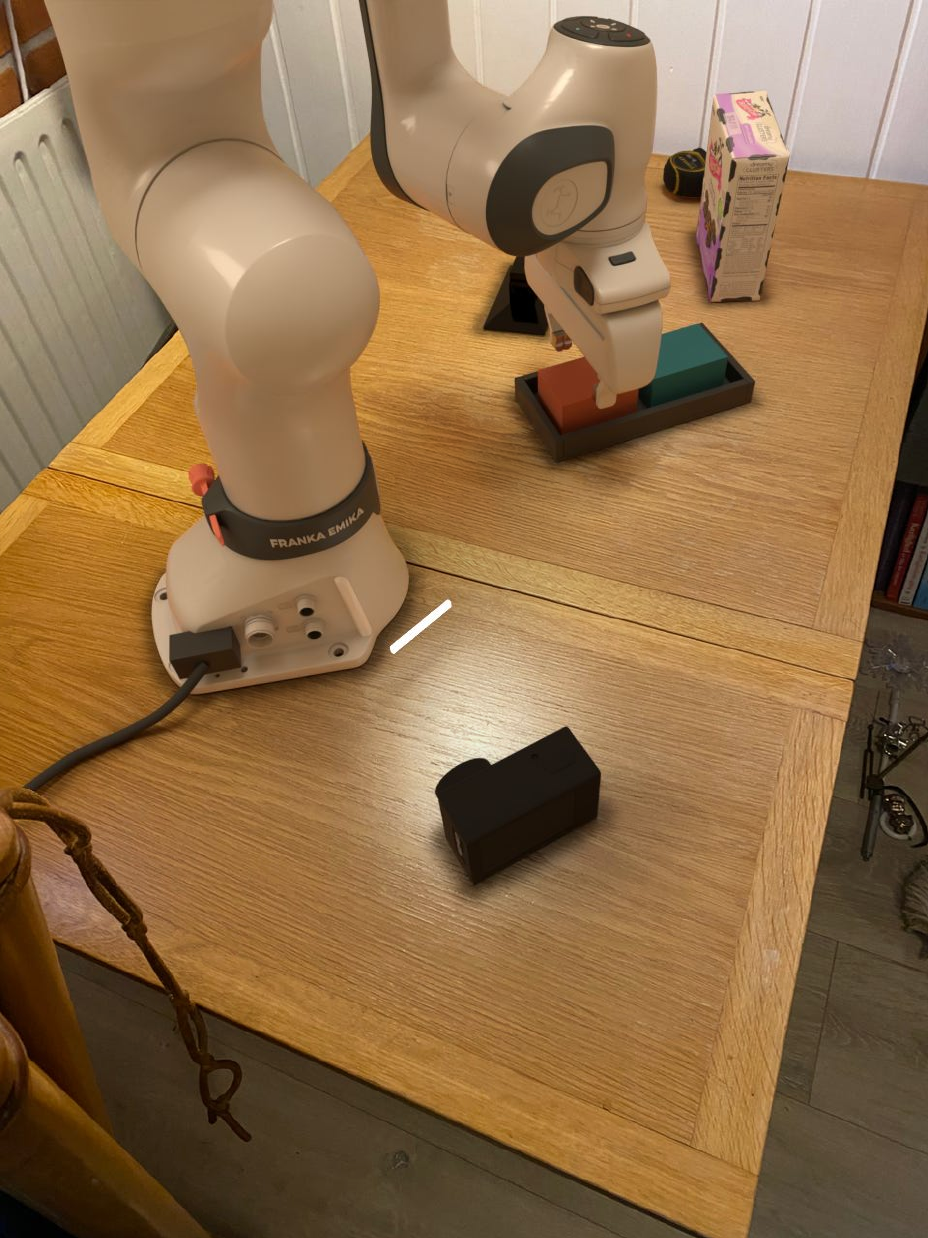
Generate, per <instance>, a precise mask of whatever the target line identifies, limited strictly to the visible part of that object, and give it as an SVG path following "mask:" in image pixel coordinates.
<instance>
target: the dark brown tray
mask: <svg viewBox="0 0 928 1238" xmlns="http://www.w3.org/2000/svg"><path fill="white" fill-rule="evenodd" d="M698 324H699V325H700V326H701V327H702V328H703V329H704V330H705V332H706V333H707V334H708V335H709V336H710V337H711V338H712V339H713V340H714V342H715V343H716V344H717V345H718V346H719V347H720V348H721V349H722V350H723V352H724V353H725V354H726V355H727V356H728V360H727V366H726V371H725V377H724V383H723V386H719V387H716V388H713V389H710V390H706V391H703V392H700V393H697V394H693V395H690V396H687V397H684V398H680V399H677V400H674V401H671V402H667V403H664V404H661V405H658V406H654V407H651V408H647V407H646V406H645V404H644V403H643V402H642V400H641V399H640V398H639V396H638V401H637V412H635V413H632V414H628V415H625V416H622V417H619V418H615V419H612V420H609V421H606V422H602V423H599V424H596V425H593V426H589V427H586V428H583V429H579V430H576V431H573V432H570V433H566V434H563V435H561V436H560V434H559V433H558V431H557V430H556V428H555V427H554V425H553V424H552V422H551V421H550V419H549V417H548V416H547V414H546V413H545V411H544V410H543V408H542V407H541V405H540V404H539V402H538V370H536V371H533V372H529V373H527V374H522V375H520V376H517V377H514V380H513V381H514V399H515V401H516V402H517V403H518V405H519V407H520V408H521V410H522V412H523V413H524V415H525V417H526V418H527V419H528V421H529V423H530V424H531V426H532V427H533V428H534V430H535V432H536V433H537V435H538V437H539V438H540V440H541V441H542V444H544V446H545V448H546V449H547V451H548V452H549V454H550V456H551V457H552V459H553V461H554V462H555V463H556V464H557V463H559V462H560V463H561V462H563V461H566V460H570V459H573V458H576V457H579V456H583V455H586V454H589V453H592V452H595V451H599V450H602V449H605V448H608V447H611V446H614V445H615V446H616V445H618V444H621V443H625V442H628V441H631V440H635V439H637V438H641V437H644V436H647V435H649V434H653V433H656V432H659V431H662V430H666V429H669V428H672V427H675V426H680V425H682V424H685V423H688V422H689V423H690V422H691V421H695V420H698V419H701V418H705V417H708V416H710V415H714V414H717V413H720V412H725V411H726V410H730V409H733V408H737V407H740V406H742V405H746V404H749V403H751V402H752V401H753V395H754V389H755V385H756V380H755V379H754V378H753V377H752V376H751V375H750V374H749V372H748V371H747V370H746V369H745V368H744V367H743V366H742V365H741V363H740V362H739V361H738V360H737V359H736V358H735V356H734V355H733V354H731V353H730V351H729V350H728V349H727V348H726V346H724V344H722V342H721V341H720V340H719V339H718V338H717V337H716V336H715V335H714V333H713V332H711V330H710V329H709V328H708V327H707V326H706V325H705V324H704V322H700V323H699V322H698Z"/></svg>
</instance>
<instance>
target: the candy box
mask: <svg viewBox="0 0 928 1238" xmlns="http://www.w3.org/2000/svg"><path fill="white" fill-rule="evenodd" d="M706 152H707V153H706V161H705V170H704V178H703V185H702V193H701V197H700V203H699V210H698V217H697V225H696V232H695V239H696V245H697V248H698V253H699V257H700V261H701V262H700V263H701V267H702V270H703V275H704V280H705V284H706V288H707V294H708V298H709V302H710V303H715V302H716V303H721V302H723V303H724V302H727V303H728V302H759V301H761V297H762V293H763V288H764V282H765V278H766V273H767V268H768V263H769V258H770V254H771V249H772V243H773V240H774V234H775V230H776V229H775V228H776V223H777V220H778V214H779V210H780V205H781V200H782V196H783V192H784V187H785V181H786V178H787V173H788V167H789V162H790V156H791V153H790V151H789V149H788V148H787V145H786V143H785V140H784V137H783V135H782V132H781V129H780V125H779V123H778V120H777V117H776V115H775V111H774V108H773V106H772V104H771V102H770V99H769V95H768V91H767V89H766V90H765V89H764V90H755V91H739V92H727V93H725V92H723V93H715V94H713V96H712V104H711V113H710V121H709V129H708V136H707V146H706Z"/></svg>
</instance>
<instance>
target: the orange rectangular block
mask: <svg viewBox="0 0 928 1238" xmlns="http://www.w3.org/2000/svg"><path fill="white" fill-rule="evenodd" d="M537 371H538V402H539V404H540V405H541V407H542V408H543V410H544V411H545V413H546V414H547V416H548V417H549V419H550V421H551V422H552V424H553V425H554V427H555V428H556V430H557V431H558V433H559V434H560V436H561V435H563V434H566V433H570V432H573V431H576V430H579V429H583V428H586V427H589V426H593V425H596V424H599V423H602V422H606V421H609V420H612V419H615V418H619V417H622V416H625V415H628V414H632V413H635V412H637V401H638V389H635V390H632V391H628V392H624V393H621V394H617V395H616V402H615V404H614V405H613V406H610V407H607V408H603V409H600V408H598V406H597V405H596V403H595V402H594V401H593V399H592V385H595V384H598V383H600V380H599V378H598V374H597V372H596V371H595V370H594V369H593V367H592V366H591V365H590V363H589V362H588V361H587V360H586V358H585V357H584V356H581V357H577V358H574V359H571V360H567V361H564V362H561V363H558V364H557V363H556V364H554V365H551V366H548V367H547V366H546V367H544V368H541V369H538V370H537Z"/></svg>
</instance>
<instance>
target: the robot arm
mask: <svg viewBox="0 0 928 1238" xmlns="http://www.w3.org/2000/svg"><path fill="white" fill-rule="evenodd" d="M448 1H449V0H358V6H359V11H360V17H361V23H362V28H363V34H364V40H365V47H366V52H367V57H368V64H369V71H370V72H369V73H370V82H371V83H370V84H371V106H370V126H369V127H370V130H369V138H370V139H369V140H370V141H369V143H370V153H371V159H372V164H373V166H374V170H375V172H376V174H377V176H378V178H379V180H380V181H381V184H382V185H383V186H384V187H385V189H386V190H387V191H388V192H389V193H390V194H391V195H393V197H395V198H397V199H398V200H400V201H403V202H405V203H408V204H411V205H413V206H415V207H417V208H419V209H422V210H424V211H426V212H430V213H432V214H433V215H435V216H437V217H439V218H441V219H442V220H443V221H446V222H447V223H449V224H450V225H452V226H454V227H455V228H457V229H459V230H461V231H462V232H463V233H466V234H468V235H471V236H473V237H474V238H476V239H478V240H480V241H481V242H483V243H485V244H486V245H488V246H490V247H492V248H494V249H496V250H497V251H500V252H502V253H504V254H506V255H509V256H512V257H515V258H516V257H525V266H524V267H525V274H526V279H527V282H528V284H529V286H530V287H531V288H532V290H533V291H534V292H535V293H536V295H537V296H538V297H539V299H540V300H541V301H542V302H543V304H544V309H545V313H546V317H547V321H548V325H549V327H548V329H549V343H550V345H551V346H552V347H553V348H554V350H555V351H556V352H558V353H561V352H563V351H568V350H570V349H571V348H572V347H573V344H574V346H575V347H576V348H577V349H578V351H579V352H580V353H581V354H582V357H585V358H586V360H587V361H588V362H589V363H590V365H591V366H592V367H593V369H594V370H595V371H596V372H597V374H598V378H599V380H600V383H598V384H595V385H592V399H593V401H594V402H595V403H596V405H597V406H598V408H600V409H603V408H607V407H610V406H613V405H614V404H615V402H616V395H617V394H621V393H624V392H628V391H632V390H635V389H639V388H642V387H644V386H646V385H648V384H649V383H650V382H651V381H652V380H653V378H654V376H655V373H656V368H657V363H658V357H659V351H660V344H661V336H662V334H663V324H664V323H663V319H664V318H663V309H662V306H661V302H660V300H662V299H664V298H667V297H668V296H669V294H670V292H671V291H670V290H671V285H672V284H671V280H672V278H671V274H670V272H669V270H668V268H667V266H666V264H665V262H664V260H663V258H662V257H661V254H660V252H659V250H658V248H657V245H656V243H655V241H654V238H653V234H652V231H651V226H650V224H649V222H648V221H647V220H646V216H647V215H646V214H647V209H648V208H647V207H648V193H647V188H646V181H645V180H646V172H647V168H648V165H649V164H650V162H651V161H650V160H651V158H652V154H653V150H654V143H655V135H656V133H655V132H656V124H657V123H656V122H657V110H658V66H657V58H656V53H655V48H654V45H653V42H652V40H651V38H649V37H648V35H647V34H646V33H645V32H644V31H642V30H640V29H638V28H636V27H634V26H632V25H629V24H627V23H625V22H621V21H619V20H615V19H612V18H604V17H599V16H596V15H594V16H593V15H578V16H577V15H576V16H570V17H565V18H563V19H562V20H558V21H557V22H555V23H554V24H553V25H552V26H551V27H550V31H549V34H548V37H547V42H546V47H545V50H544V53H543V55H542V57H541V59H540V60H539V62H538V64H537V65H536V66H535V68H534V69H533V71H532V72H531V73H530V74H529V76H528V77H527V78H526V79H525V81H524V82H523V83H522V84H521V85H520V86H519V87H518V88H517V89H516V90H515V91H513V92H512V93H511V94H509V95H508V96H507V95H505V94H503V93H501V92H499V91H497V90H495V89H492V88H490V87H488V86H486V85H483V84H482V83H480V82H479V81H478V80H477V79H476V78H475V77H474V76H472V75H471V74H470V73H469V71H468V70H467V69H466V68H465V67H464V65H462V63H461V62H460V60H459V59H458V57H457V56H456V54H455V51H454V49H453V45H452V37H451V36H452V35H451V25H450V23H451V22H450V14H449V2H448ZM43 2H44V5H45V8H46V11H47V13H48V16H49V20H50V21H51V24H52V27H53V30H54V33H55V36H56V40H57V43H58V46H59V49H60V53H61V57H62V59H63V63H64V66H65V71H66V76H67V80H68V84H69V88H70V92H71V93H70V94H71V98H72V104H73V107H74V112H75V113H74V114H75V116H76V121H77V126H78V129H79V133H80V138H81V141H82V145H83V150H84V153H85V157H86V160H87V165H88V167H89V171H90V177H91V183H92V186H93V190H94V193H95V196H96V199H97V202H98V204H99V209H100V211H101V213H102V216H103V219H104V221H105V224H106V226H107V229H108V230H109V233H110V235H111V236H112V238H113V240H114V241H115V243H116V244H117V245H118V247H119V248H120V249H121V250H122V252H123V253H124V254H125V256H126V257H127V258H128V259H129V260H130V262H131V263H132V264H133V265H134V267H135V268H136V269H137V270H138V271H139V272H140V274H141V275H142V277H143V278H144V279H145V280H146V281H147V283H148V284H149V285H150V287H151V289H152V290H153V291H154V292H155V294H156V295H157V297H158V298H159V299H160V301H161V303H162V304H163V306H164V307H165V309H166V311H167V312H168V314H169V315H170V317H171V318H172V321H173V322H174V323H175V325H176V327H177V329H178V332H179V333H180V335H181V337H182V339H183V341H184V343H185V346H186V349H187V351H188V354H189V357H190V359H191V363H192V367H193V371H194V376H195V382H196V389H195V392H194V397H193V410H194V414H195V416H196V420H197V421H198V425H199V427H200V429H201V433H202V435H203V437H204V441H205V444H206V445H207V448H208V450H209V454H210V456H211V459H212V461H213V464H214V467H215V469H216V473H217V476H216V475H215V471H214V468H213V467H212V466H211V465H208V464H207V463H197V464H194V465H193V466H191V467H190V468H189V471H188V472H187V475H188V480H189V482H190V484H191V491H192V493H193V494H194V495H196V496H198V497H200V498H201V497H202V498H201V507H202V510H203V515H202V516H201V517H199V519H198V520H196V521H195V522H194V523H193V524H192V525H191V526H190V527H188V529H187V530H185V532H183V533H182V534H181V535H180V536H179V537H177V538H176V539H175V541H174V542H173V543H172V545H171V547H170V549H169V551H168V554H167V559H166V565H165V572H164V573H163V574H162V576H161V577H160V579H159V581H158V583H157V585H156V587H155V590H154V593H153V596H152V601H151V624H152V632H153V637H154V641H155V646H156V648H157V652H158V655H159V657H160V659H161V662H162V665H163V667H164V668H165V670H166V672H167V674H168V676H169V677H170V678H171V680H172V681H173V682H174V683H175V684H176V685H177V686H178V687H179V688H178V690H177V691H176V692H174V694H173V695H172V696H171V697H170V698H169V699H168V700H167V701H165V703H163V704H162V705H161V706H159V707H158V708H157V709H155V710H154V711H153V712H151V713H150V714H148V715H146V716H145V717H143V718H141V719H139V720H136V721H135V722H133V723H132V724H130V725H128V726H125V727H124V728H122V729H119V730H117V731H115V732H113V733H111V734H108V735H106V736H103V737H101V738H99V739H96V740H95V741H93V742H91V743H88V744H86V745H84V746H83V745H82V746H81V747H79V748H76V749H74V750H73V751H71V752H69V753H67V754H66V755H65V756H63V757H62V758H60V759H58V760H57V761H56V762H54V763H53V764H52V765H50V766H49V767H48V768H46V769H45V770H43V771H42V772H40V773H39V774H38V775H36V776H35V777H33V778H32V779H31V780H30V781H29V782H27V783H26V784H24V785H23V786H22V787H21V788H25V789H30V790H32V791H34V793H36V792H37V791H38V790H40V789H41V788H43V787H44V786H45V785H46V784H47V783H49V782H50V781H52V780H53V779H55V778H56V777H57V776H58V775H60V774H62V773H63V772H64V771H66V770H67V769H69V767H71V766H73V765H75V764H76V763H77V762H80V761H82V760H84V759H86V758H88V757H90V756H93V755H95V754H97V753H100V752H102V751H103V750H107V749H108V748H110V747H112V746H115V745H117V744H119V743H122V742H124V741H126V740H128V739H130V738H133V737H135V736H136V735H138V734H140V733H142V732H144V731H146V730H147V729H149V728H152V727H153V726H155V725H157V724H158V723H160V722H161V721H163V720H164V719H165V718H167V717H168V716H169V715H170V714H171V713H173V712H174V711H175V710H176V709H177V708H178V707H180V705H181V704H182V703H183V702H184V701H185V700H186V699H187V698H188V697H189V695H202V694H209V693H215V692H219V691H221V692H222V691H226V690H232V689H238V688H244V687H250V686H255V685H261V684H267V683H268V684H269V683H274V682H278V681H279V682H280V681H285V680H291V679H296V678H303V677H308V676H314V675H319V674H321V675H322V674H326V673H332V672H338V671H344V670H350V669H355V668H359V667H361V666H362V665H364V664H365V663H366V662H367V661H368V659H369V658H370V657H371V654H372V652H373V649H374V646H375V644H376V641H377V638H378V636H379V635H380V633H381V632H382V631H383V630H384V629H385V628H386V627H387V626H388V624H389V623H390V622H391V621H392V620H393V619H394V618H395V617H396V616H397V614H398V613H399V611H400V610H401V608H402V606H403V604H404V601H405V600H406V597H407V594H408V590H409V584H410V574H409V567H408V564H407V562H406V561H407V560H406V559H405V557H404V555H403V553H402V552H401V550H400V549H399V548H398V547H397V545H396V544H395V542H394V540H393V539H392V536H391V535H390V533H389V530H388V528H387V525H386V524H385V521H384V519H383V516H382V513H381V512H382V506H381V499H380V498H381V491H380V486H379V485H380V484H379V480H378V476H377V470H376V467H375V462H374V459H373V457H372V455H371V454H370V452H369V450H368V447H367V445H366V443H365V441H364V440H363V439H362V434H361V430H360V424H359V419H358V414H357V408H356V405H355V400H354V399H355V398H354V395H353V394H354V393H353V387H352V381H351V380H352V379H351V367H352V366H353V365H355V363H356V362H357V361H358V360H359V358H360V357H361V356H362V354H363V353H364V351H365V350H366V348H367V346H368V345H369V343H370V342H371V339H372V338H373V335H374V332H375V330H376V327H377V323H378V319H379V314H380V306H381V292H380V285H379V281H378V277H377V273H376V271H375V269H374V267H373V265H372V263H371V261H370V260H369V258H368V256H367V254H366V253H365V250H364V249H363V247H362V245H361V244H360V242H359V240H358V239H357V237H356V235H355V234H354V232H353V230H352V229H351V227H350V226H349V224H348V223H347V221H346V219H344V217H343V216H342V214H341V212H340V211H338V209H337V208H336V206H335V205H334V204H333V203H331V202H330V201H329V199H326V197H325V196H324V195H322V194H321V193H320V192H319V191H318V190H316V188H315V187H313V186H312V185H311V184H310V183H309V182H307V181H306V180H305V179H304V178H303V177H302V176H301V175H300V174H298V173H297V172H296V171H295V170H294V169H292V168H291V167H290V166H289V165H288V164H287V163H286V162H285V161H284V160H283V158H282V156H281V154H280V153H279V151H278V149H277V147H276V146H275V144H274V141H273V140H272V137H271V135H270V132H269V130H268V127H267V122H266V119H265V115H264V109H263V102H262V101H263V100H262V48H263V42H264V40H265V39H266V36H268V33H269V31H270V28H271V25H272V24H273V18H274V9H275V8H274V7H275V6H274V5H275V4H274V3H275V2H274V0H43ZM451 607H452V602H451V601H450V600H449V599H447V600H445V601H444V602H443V603H442V604H441V605H439V606H438V607H437V608H436V609H435V610H433V611H431V613H430V614H428V615H427V616H426V617H425V618H423V619H422V620H421V621H420V622H419V623H417V624H416V625H415V626H414V627H412V628H411V629H410V630H408V632H407V633H405V634H403V636H401V637H400V638H399V639H398V640H396V641H395V642H394V643H393V644H391V646H389V648H390V652H391V653H392V654H396V653H397V652H398V651H399V650H400V649H401V648H403V647H404V646H405V645H406V644H408V643H409V642H410V641H411V640H413V639H414V638H415V637H416V636H417V635H418V634H420V633H421V632H422V631H423V630H424V629H426V628H427V627H429V626H430V625H431V624H432V623H434V621H436V620H437V619H438V618H440V616H441V615H443V614H444V613H445V612H446V611H448V610H449V609H450V608H451ZM339 654H342V655H340V656H337V655H339Z"/></svg>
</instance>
